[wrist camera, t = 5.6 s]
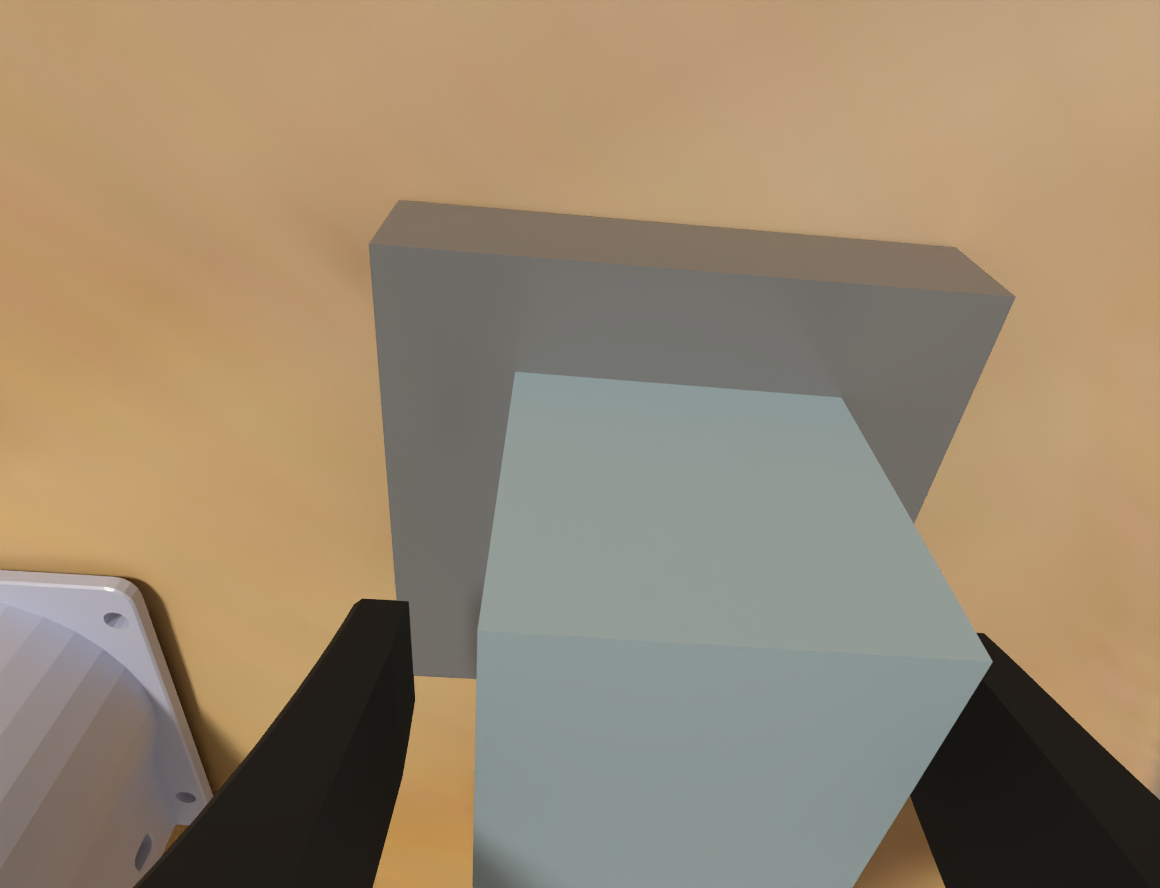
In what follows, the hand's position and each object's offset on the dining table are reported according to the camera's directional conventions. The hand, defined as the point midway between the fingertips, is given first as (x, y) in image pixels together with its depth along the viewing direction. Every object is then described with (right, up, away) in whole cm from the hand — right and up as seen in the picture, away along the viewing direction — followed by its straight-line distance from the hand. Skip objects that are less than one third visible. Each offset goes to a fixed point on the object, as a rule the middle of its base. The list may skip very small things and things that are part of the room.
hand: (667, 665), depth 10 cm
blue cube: (0, +2, +2) cm, 3 cm away
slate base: (0, +3, +4) cm, 5 cm away
